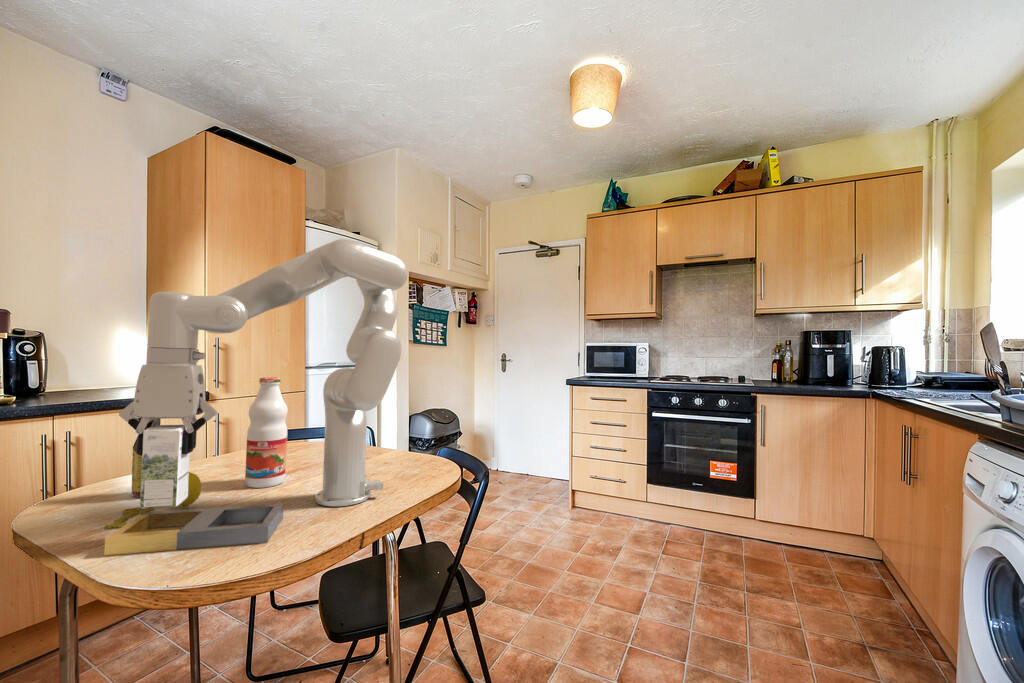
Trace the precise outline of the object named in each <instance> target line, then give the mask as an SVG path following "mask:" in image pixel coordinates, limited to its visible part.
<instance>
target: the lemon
mask: <svg viewBox="0 0 1024 683" xmlns="http://www.w3.org/2000/svg"><path fill="white" fill-rule="evenodd" d="M201 493H202V482H201V479H200V477H199V476H198V475H197V474H195V473H193V472H190V471H189V475H188V497H187V498H186V499H185V500H184V501H183V502H182V503H180V504H179V505H178V506H180V507H182V508H188V507H189V506H190V505H191V504H193V503H194V502H196V501H197V500H198V499H199V497H200V496H201Z"/></svg>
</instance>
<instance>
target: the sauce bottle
mask: <svg viewBox="0 0 1024 683" xmlns="http://www.w3.org/2000/svg"><path fill="white" fill-rule="evenodd" d="M140 419H142V418H140ZM161 419H162V418H160V419H156V420H155V422H154V424H153V426H156V425H161ZM138 445H139V434H137V437H136V439H135V441H134V444H133V446H132V463H131V464H132V469H131V492H132V496H133V497H134V498H140V497H141V475H142V456H141V455H140V450H139V449H138Z"/></svg>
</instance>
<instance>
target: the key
mask: <svg viewBox="0 0 1024 683" xmlns="http://www.w3.org/2000/svg"><path fill="white" fill-rule="evenodd" d="M154 510H155V508H149V509H140V506H137V507H136V506H135V507H131V508H124V509H122V511H121V512H122V514H123V516H121V517H118V518H117V519H115V520H113V522H111V523H108V524H105V525H104V527H103V529H104V530H111V529H115V528H116V529H117V528H118V529H120V528H121V527H123V526H124V525H126V524H127V523H128V522H127V521H128V520H129V519H132V518H133V517H136V516H137V515H138V516H139V515H141V514H142V513H144V512H154Z"/></svg>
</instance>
